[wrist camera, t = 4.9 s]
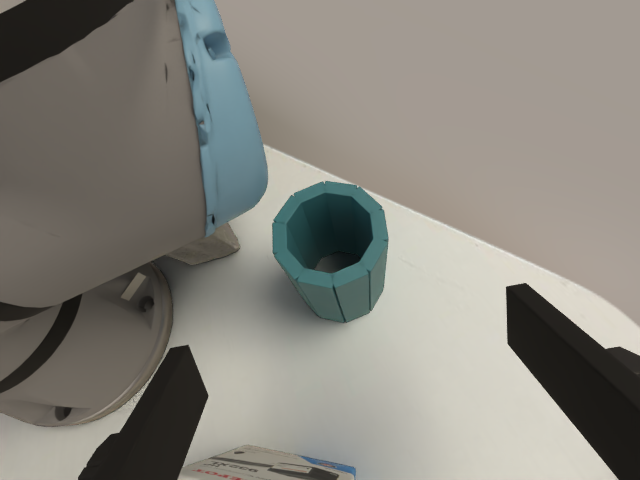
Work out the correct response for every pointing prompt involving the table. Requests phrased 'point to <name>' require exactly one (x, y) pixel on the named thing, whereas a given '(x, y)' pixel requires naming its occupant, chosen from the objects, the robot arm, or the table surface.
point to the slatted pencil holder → (333, 248)
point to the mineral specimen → (208, 247)
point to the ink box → (264, 467)
